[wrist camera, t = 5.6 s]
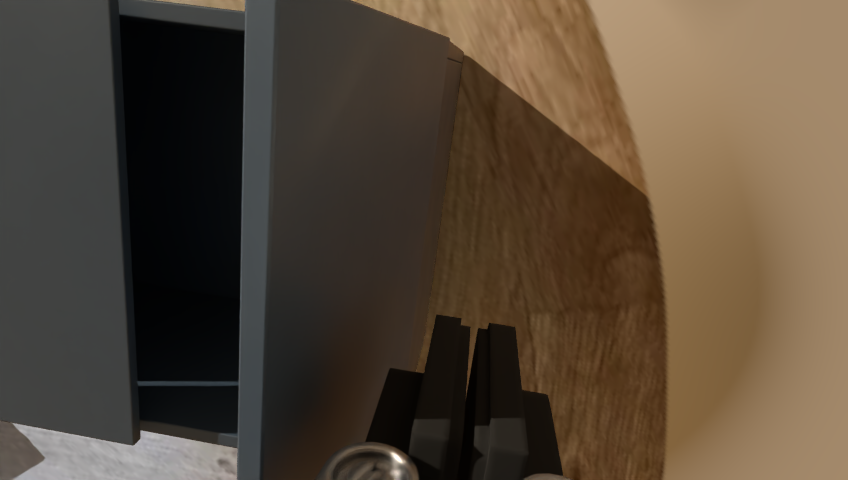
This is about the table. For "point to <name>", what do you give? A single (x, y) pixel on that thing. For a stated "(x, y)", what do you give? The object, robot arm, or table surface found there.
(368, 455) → the robot arm
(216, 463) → the table surface
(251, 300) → the flap
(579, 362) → the table surface
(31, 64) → the carton
